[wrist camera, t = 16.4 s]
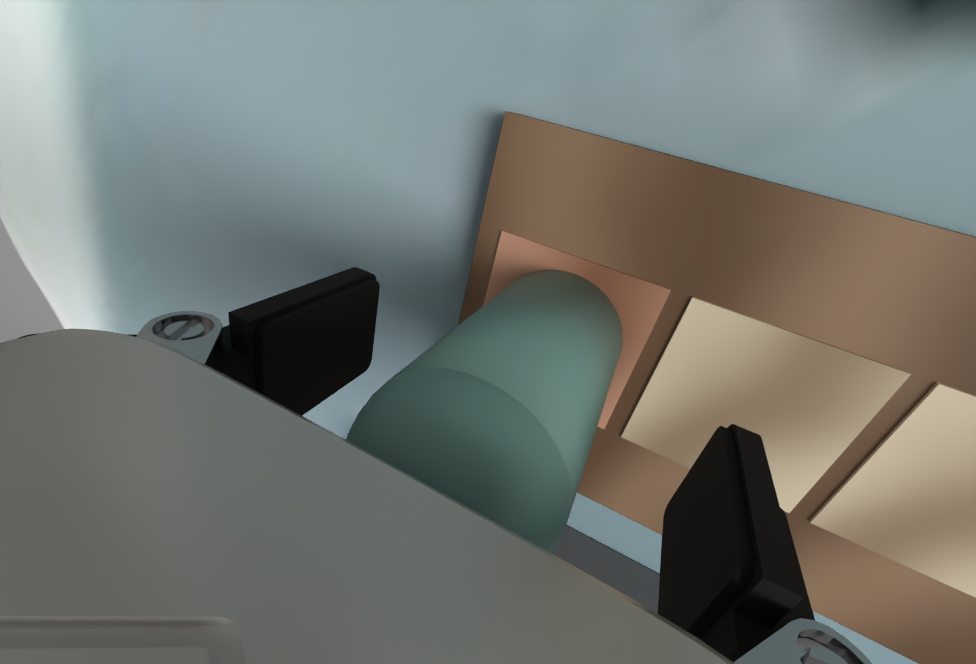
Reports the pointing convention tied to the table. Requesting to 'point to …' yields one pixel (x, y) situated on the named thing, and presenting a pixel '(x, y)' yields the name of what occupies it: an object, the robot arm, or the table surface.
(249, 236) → the table surface
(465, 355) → the green capsule
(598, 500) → the track board
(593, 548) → the base
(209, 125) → the table surface
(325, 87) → the table surface
